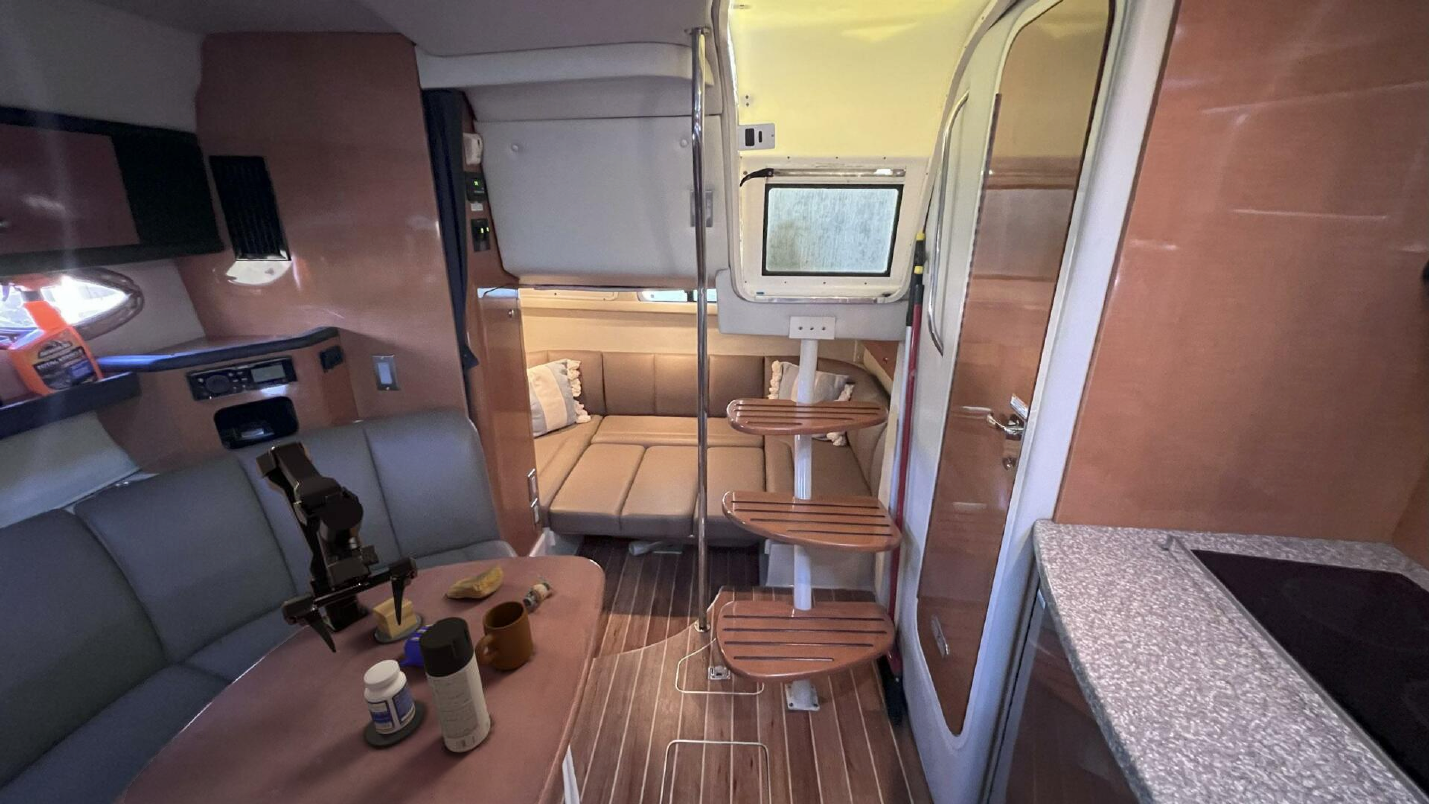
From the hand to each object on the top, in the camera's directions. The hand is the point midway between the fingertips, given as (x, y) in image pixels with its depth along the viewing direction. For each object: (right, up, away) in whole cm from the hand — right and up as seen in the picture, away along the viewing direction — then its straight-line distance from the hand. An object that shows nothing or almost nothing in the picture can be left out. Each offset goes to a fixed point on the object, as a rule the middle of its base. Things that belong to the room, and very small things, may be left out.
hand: (368, 638), depth 87 cm
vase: (+22, +1, +25) cm, 33 cm away
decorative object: (+5, -9, +11) cm, 15 cm away
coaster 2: (+6, -13, -2) cm, 14 cm away
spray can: (+18, -14, -4) cm, 23 cm away
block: (-7, -6, +19) cm, 21 cm away
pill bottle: (+5, -13, -1) cm, 14 cm away
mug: (+19, -9, +9) cm, 23 cm away
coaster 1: (-7, -7, +19) cm, 21 cm away
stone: (+9, 0, +27) cm, 28 cm away
